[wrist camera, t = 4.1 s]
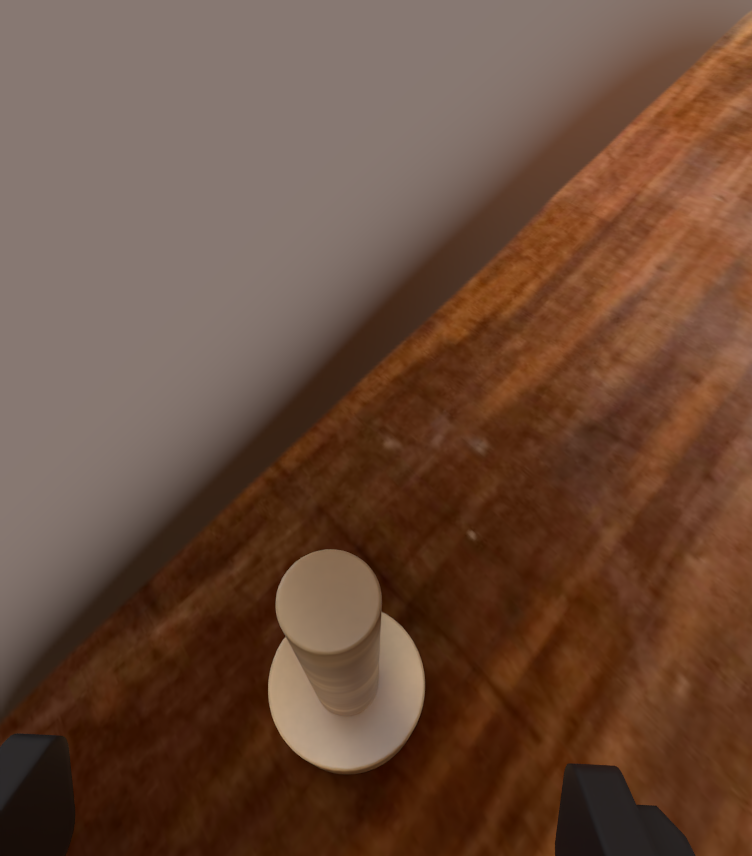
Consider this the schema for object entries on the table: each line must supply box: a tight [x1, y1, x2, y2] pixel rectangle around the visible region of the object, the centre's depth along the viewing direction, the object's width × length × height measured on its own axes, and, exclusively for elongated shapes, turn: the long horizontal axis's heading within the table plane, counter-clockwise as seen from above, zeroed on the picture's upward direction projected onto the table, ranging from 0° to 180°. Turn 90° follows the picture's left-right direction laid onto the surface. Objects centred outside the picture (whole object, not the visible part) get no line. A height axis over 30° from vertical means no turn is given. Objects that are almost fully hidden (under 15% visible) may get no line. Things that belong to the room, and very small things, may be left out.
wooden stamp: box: [268, 549, 425, 774], centre depth 17 cm, size 5×5×12 cm
